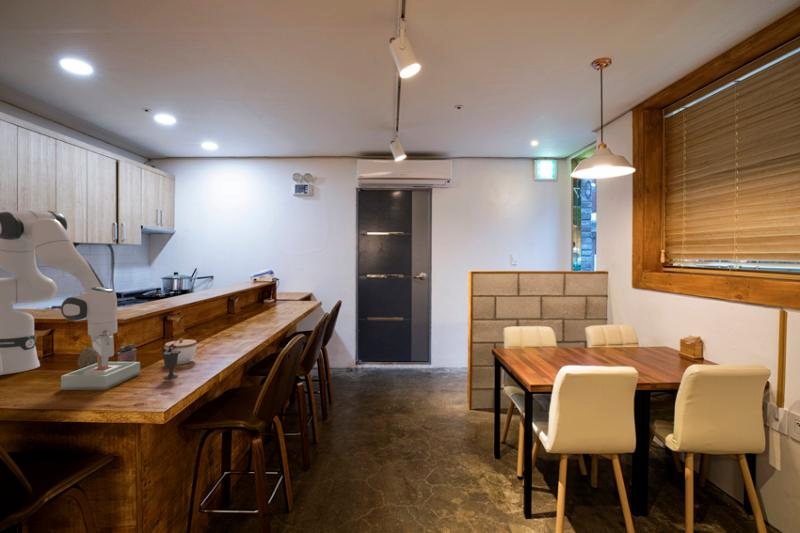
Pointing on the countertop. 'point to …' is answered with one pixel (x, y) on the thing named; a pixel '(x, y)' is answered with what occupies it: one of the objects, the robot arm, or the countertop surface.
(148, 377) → the countertop surface
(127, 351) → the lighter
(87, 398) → the countertop surface
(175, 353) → the sundae
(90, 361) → the decorative egg
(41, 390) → the countertop surface
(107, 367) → the dowel
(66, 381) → the box
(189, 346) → the lidded bowl
